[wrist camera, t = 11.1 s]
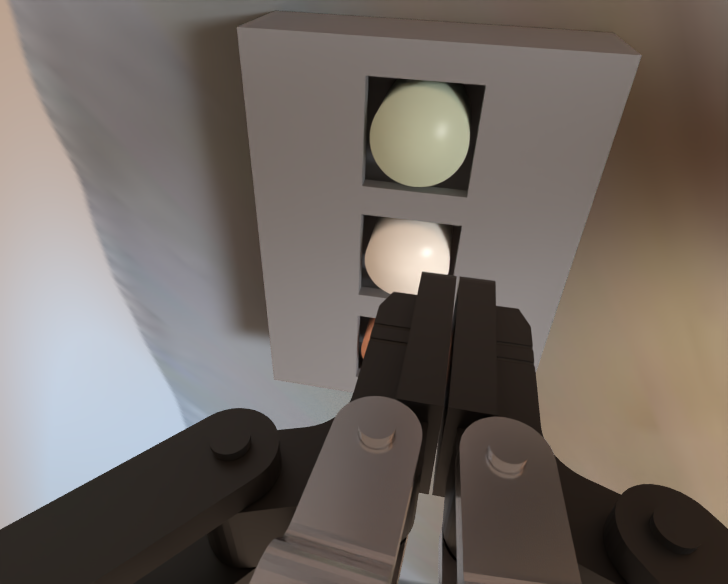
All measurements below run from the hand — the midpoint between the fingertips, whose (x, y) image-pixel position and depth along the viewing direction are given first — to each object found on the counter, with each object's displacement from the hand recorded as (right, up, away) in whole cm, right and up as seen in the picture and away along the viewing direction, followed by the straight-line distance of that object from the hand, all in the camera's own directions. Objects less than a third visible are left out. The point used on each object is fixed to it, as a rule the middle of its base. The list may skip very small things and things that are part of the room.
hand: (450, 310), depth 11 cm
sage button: (+1, +9, +15) cm, 17 cm away
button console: (+1, +5, +19) cm, 20 cm away
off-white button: (+1, +4, +19) cm, 19 cm away
